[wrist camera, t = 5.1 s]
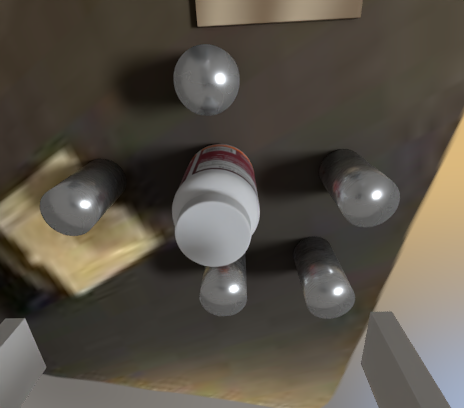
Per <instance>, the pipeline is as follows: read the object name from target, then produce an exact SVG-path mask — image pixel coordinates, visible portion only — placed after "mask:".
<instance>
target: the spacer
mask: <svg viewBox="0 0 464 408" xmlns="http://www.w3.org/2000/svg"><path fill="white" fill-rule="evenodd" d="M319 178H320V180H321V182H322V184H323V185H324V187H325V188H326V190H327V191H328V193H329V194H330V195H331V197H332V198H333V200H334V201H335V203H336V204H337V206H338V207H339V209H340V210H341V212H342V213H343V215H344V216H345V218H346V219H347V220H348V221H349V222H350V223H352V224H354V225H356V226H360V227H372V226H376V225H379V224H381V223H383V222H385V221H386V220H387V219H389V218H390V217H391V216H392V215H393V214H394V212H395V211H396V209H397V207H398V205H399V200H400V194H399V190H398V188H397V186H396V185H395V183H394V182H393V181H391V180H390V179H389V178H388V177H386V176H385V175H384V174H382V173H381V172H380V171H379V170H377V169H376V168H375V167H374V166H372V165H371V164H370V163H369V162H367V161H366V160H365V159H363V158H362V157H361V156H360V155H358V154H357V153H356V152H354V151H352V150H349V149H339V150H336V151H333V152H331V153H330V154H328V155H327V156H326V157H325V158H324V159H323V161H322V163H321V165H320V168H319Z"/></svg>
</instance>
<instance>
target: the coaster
mask: <svg viewBox="0 0 464 408" xmlns="http://www.w3.org/2000/svg"><path fill="white" fill-rule="evenodd" d="M362 1H363V0H195V2H196V14H197V26H198V27H212V26H229V25H247V24H265V23H283V22H300V21H318V20H336V19H353V18H360V17H361V10H362Z"/></svg>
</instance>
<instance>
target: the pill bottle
mask: <svg viewBox="0 0 464 408" xmlns="http://www.w3.org/2000/svg"><path fill="white" fill-rule="evenodd" d="M259 216H260V207H259V200H258V194H257V188H256V182H255V175H254V170H253V167H252V164H251V162H250V161H249V159H248V158H247V156H246V155H245V154H244V153H243V152H242V151H240V150H239V149H237V148H235V147H233V146H230V145H226V144H215V145H210V146H207V147H205V148H203V149H202V150H200V151H199V152H198V153H196V154H195V156H194V157H193V158H192V160H191V161H190V163H189V165H188V167H187V169H186V172H185V174H184V176H183V179H182V181H181V183H180V185H179V187H178V190H177V192H176V194H175V197H174V200H173V204H172V217H173V221H174V224H175V238H176V242H177V244H178V246H179V248H180V250H181V251H182V252H183V254H185V256H187V257H188V258H189V259H190V260H192V261H194V262H196V263H198V264H201V265H204V266H210V267H219V266H225V265H228V264H231V263H233V262H235V261H236V260H238V259H239V258H240V257H241V256H242V255H243V254H244V253H245V252H246V250H247V249H248V246H249V244H250V240H251V236H252V234H253V233H254V231H255V229H256V227H257V225H258V222H259Z"/></svg>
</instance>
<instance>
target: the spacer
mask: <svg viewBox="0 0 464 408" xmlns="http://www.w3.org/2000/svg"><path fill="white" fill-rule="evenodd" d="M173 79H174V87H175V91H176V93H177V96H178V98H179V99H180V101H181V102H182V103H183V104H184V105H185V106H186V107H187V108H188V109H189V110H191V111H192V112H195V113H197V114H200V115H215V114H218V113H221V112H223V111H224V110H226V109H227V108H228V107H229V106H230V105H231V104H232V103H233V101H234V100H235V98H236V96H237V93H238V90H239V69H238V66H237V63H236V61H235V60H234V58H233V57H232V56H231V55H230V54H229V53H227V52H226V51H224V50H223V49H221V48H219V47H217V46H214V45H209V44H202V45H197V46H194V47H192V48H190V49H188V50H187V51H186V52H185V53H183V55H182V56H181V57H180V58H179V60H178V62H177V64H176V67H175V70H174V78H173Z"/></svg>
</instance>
